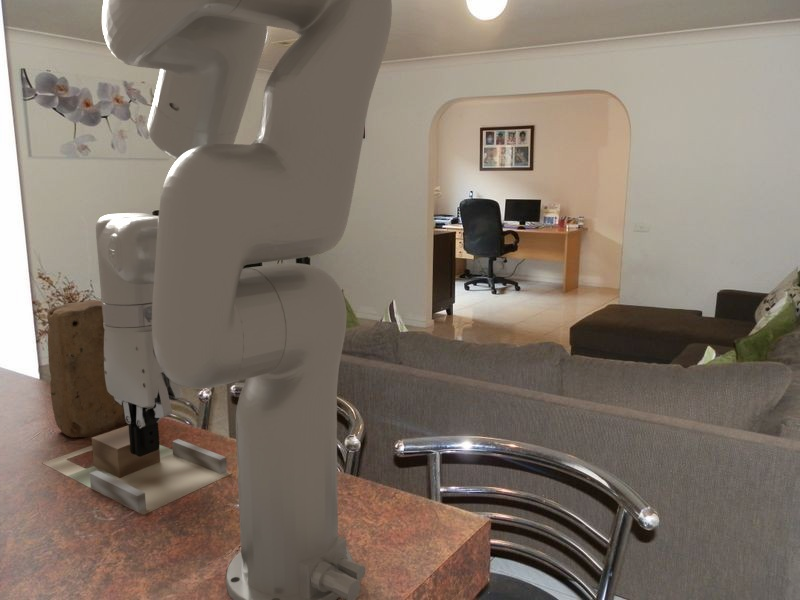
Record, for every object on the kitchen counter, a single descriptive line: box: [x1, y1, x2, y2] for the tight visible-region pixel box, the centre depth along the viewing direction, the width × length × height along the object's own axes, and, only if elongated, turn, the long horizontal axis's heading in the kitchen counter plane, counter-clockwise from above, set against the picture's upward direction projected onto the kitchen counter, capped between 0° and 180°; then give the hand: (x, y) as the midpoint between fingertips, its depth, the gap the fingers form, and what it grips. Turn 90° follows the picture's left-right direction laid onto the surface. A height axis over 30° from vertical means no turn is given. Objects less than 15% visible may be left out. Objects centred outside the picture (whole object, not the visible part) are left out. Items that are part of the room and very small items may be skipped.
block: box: [46, 299, 127, 438], centre depth 102 cm, size 11×8×20 cm
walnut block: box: [91, 424, 160, 478], centre depth 89 cm, size 6×6×4 cm
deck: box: [41, 438, 232, 516], centre depth 88 cm, size 23×13×3 cm, turn 55°
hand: (145, 451), depth 86 cm, fingers closed
